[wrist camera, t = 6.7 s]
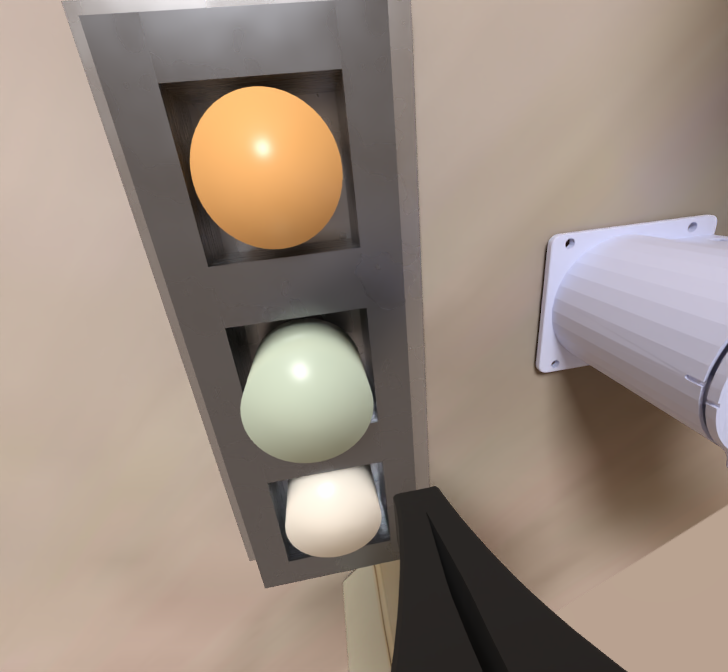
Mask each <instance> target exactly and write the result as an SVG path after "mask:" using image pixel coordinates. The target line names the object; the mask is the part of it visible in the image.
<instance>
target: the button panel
mask: <svg viewBox="0 0 728 672" xmlns="http://www.w3.org/2000/svg"><path fill="white" fill-rule="evenodd" d="M61 2H62V5H63V8H64V11H65V14H66V17H67V20H68V23H69V26H70V29H71V32H72V35H73V38H74V41H75V44H76V47H77V50H78V52H79V55H80V58H81V61H82V64H83V67H84V70H85V73H86V76H87V79H88V82H89V85H90V88H91V91H92V94H93V97H94V100H95V103H96V106H97V109H98V112H99V115H100V118H101V121H102V124H103V127H104V130H105V133H106V136H107V139H108V142H109V145H110V148H111V150H112V153H113V156H114V159H115V162H116V165H117V168H118V171H119V174H120V177H121V180H122V183H123V186H124V189H125V192H126V195H127V198H128V201H129V204H130V207H131V210H132V213H133V216H134V219H135V222H136V225H137V228H138V231H139V234H140V237H141V240H142V243H143V246H144V248H145V251H146V254H147V257H148V260H149V263H150V266H151V269H152V272H153V275H154V278H155V281H156V284H157V287H158V290H159V293H160V296H161V299H162V302H163V305H164V308H165V311H166V314H167V317H168V320H169V323H170V326H171V329H172V332H173V335H174V338H175V341H176V344H177V346H178V349H179V352H180V355H181V358H182V361H183V364H184V367H185V370H186V373H187V376H188V379H189V382H190V385H191V388H192V391H193V394H194V397H195V400H196V403H197V406H198V409H199V412H200V415H201V418H202V421H203V424H204V427H205V430H206V433H207V436H208V439H209V442H210V444H211V447H212V450H213V453H214V456H215V459H216V462H217V465H218V468H219V471H220V474H221V477H222V480H223V483H224V486H225V489H226V492H227V495H228V498H229V501H230V504H231V507H232V510H233V513H234V516H235V519H236V522H237V525H238V528H239V531H240V534H241V537H242V540H243V542H244V545H245V548H246V551H247V554H248V557H249V560H250V561H252V560H256V562H257V565H258V568H259V571H260V574H261V577H262V580H263V583H264V586H265V588H269V587H274V586H279V585H283V584H288V583H293V582H297V581H302V580H307V579H311V578H316V577H321V576H325V575H330V574H335V573H339V572H344V571H349V570H353V569H358V568H363V567H367V566H372V565H377V564H381V563H386V562H391V561H395V560H400V552H399V547H398V542H397V534H396V524H395V513H394V502H393V497H394V496H395V495H396V494H398V493H403V492H408V491H414V490H419V489H424V488H429V487H430V485H429V459H428V433H427V407H426V380H425V354H424V328H423V302H422V276H421V250H420V224H419V198H418V171H417V145H416V119H415V93H414V67H413V41H412V15H411V0H69V1H61ZM252 86H264V87H271V88H276V89H279V90H282V91H285V92H288V93H290V94H292V95H294V96H296V97H298V98H299V99H301V100H302V101H304V102H305V103H306V104H308V105H309V106H310V107H311V108H313V109H314V110H315V111H316V113H317V114H318V115H319V116H320V117H321V118H322V119H323V121H324V122H325V123H326V125H327V126H328V128H329V130H330V131H331V133H332V135H333V137H334V139H335V142H336V144H337V147H338V150H339V153H340V157H341V163H342V173H343V180H342V190H341V195H340V199H339V202H338V205H337V207H336V210H335V212H334V214H333V216H332V217H331V219H330V220H329V222H328V223H327V224H326V225H325V227H324V228H323V229H322V230H321V231H320V232H319V233H318V234H316V235H315V236H314V237H312V238H311V239H309V240H308V241H306V242H304V243H302V244H299V245H296V246H294V247H290V248H284V249H264V248H259V247H254V246H251V245H248V244H245V243H243V242H241V241H239V240H237V239H235V238H234V237H232V236H231V235H229V234H228V233H227V232H225V231H224V230H223V229H222V228H220V227H219V226H218V225H217V224H216V223H215V222H214V221H213V219H212V218H211V217H210V216H209V214H208V213H207V212H206V210H205V208H204V207H203V205H202V204H201V202H200V200H199V197H198V195H197V193H196V190H195V187H194V184H193V181H192V176H191V170H190V149H191V143H192V138H193V135H194V132H195V129H196V127H197V125H198V123H199V121H200V119H201V118H202V116H203V115H204V113H205V112H206V111H207V109H208V108H209V107H210V106H211V105H212V104H213V103H214V102H216V101H217V100H218V99H220V98H221V97H222V96H224V95H226V94H228V93H230V92H232V91H235V90H238V89H241V88H246V87H252ZM303 318H314V319H320V320H324V321H328V322H330V323H332V324H335V325H336V326H338V327H340V328H341V329H342V330H344V331H345V332H346V333H347V334H348V335H349V336H350V337H351V338H352V340H353V341H354V342H355V344H356V346H357V348H358V351H359V354H360V357H361V360H362V363H363V367H364V370H365V373H366V376H367V379H368V382H369V385H370V388H371V392H372V396H373V415H372V418H371V422H370V424H369V426H368V428H367V430H366V432H365V433H364V435H363V436H362V437H361V439H360V440H359V441H358V442H357V443H356V444H355V445H354V446H352V447H351V448H350V449H349V450H347V451H345V452H344V453H342V454H340V455H338V456H336V457H334V458H331V459H328V460H325V461H321V462H315V463H294V462H288V461H284V460H281V459H278V458H275V457H273V456H271V455H269V454H267V453H266V452H264V451H263V450H261V449H260V448H259V447H258V446H257V445H256V444H255V443H254V442H253V441H252V440H251V439H250V437H249V436H248V434H247V432H246V431H245V429H244V426H243V423H242V419H241V410H240V407H241V399H242V396H243V392H244V389H245V386H246V383H247V379H248V376H249V373H250V370H251V366H252V363H253V360H254V357H255V353H256V351H257V348H258V346H259V344H260V343H261V341H262V340H263V339H264V338H265V336H266V335H267V334H268V333H269V332H271V331H272V330H273V329H275V328H276V327H278V326H279V325H281V324H283V323H286V322H289V321H292V320H296V319H303ZM368 464H370V466H371V471H372V475H373V479H374V484H375V488H376V492H377V497H378V501H379V505H380V510H381V518H382V519H381V524H380V527H379V530H378V532H377V533H376V535H375V536H374V537H373V538H372V540H371V541H369V542H368V543H367V544H366V545H365V546H363V547H362V548H360V549H358V550H356V551H354V552H352V553H349V554H346V555H343V556H338V557H316V556H311V555H308V554H305V553H303V552H301V551H300V550H298V549H297V548H295V547H294V546H293V545H292V544H291V542H290V541H289V539H288V537H287V535H286V530H285V522H286V506H287V490H288V479H293V478H298V477H303V476H309V475H314V474H319V473H325V472H330V471H335V470H341V469H346V468H352V467H357V466H362V465H368Z"/></svg>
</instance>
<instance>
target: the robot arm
mask: <svg viewBox="0 0 728 672" xmlns="http://www.w3.org/2000/svg"><path fill="white" fill-rule="evenodd" d="M689 225H690V227H689ZM716 226H717V218H716V217H715V216H714V215H699V216H691V217H683V218H676V219H668V220H661V221H653V222H645V223H638V224H630V225H622V226H615V227H607V228H599V229H592V230H584V231H577V232H569V233H561V234H556V235H554V236H553V237H551V239H550V240H549V242H548V247H547V257H546V267H545V277H544V287H543V298H542V308H541V318H540V328H539V338H538V348H537V358H536V367H537V369H538V370H539V371H541V372H543V373H547V372H553V371H559V370H564V369H570V368H576V367H582V366H588V365H591V366H592V367H594V368H595V369H597V370H598V371H600V372H602V373H603V374H605V375H606V376H608V377H610V378H611V379H613V380H614V381H616V382H618V383H619V384H621V385H622V386H624V387H626V388H627V389H629V390H630V391H632V392H634V393H635V394H637V395H638V396H640V397H642V398H643V399H645V400H646V401H648V402H650V403H651V404H653V405H654V406H656V407H658V408H659V409H661V410H662V411H664V412H665V413H667V414H669V415H670V416H672V417H673V418H675V419H677V420H678V421H680V422H681V423H683V424H685V425H686V426H688V427H689V428H691V429H693V430H694V431H696V432H697V433H699V434H701V435H702V436H704V437H705V438H707V439H709V440H710V441H712V442H713V443H715V444H717V445H718V446H720V447H721V448H722V449H723V450H724V451H725V453H726V456H727V462H726V466H727V468H728V236H720V235H714V233H715V229H716ZM688 227H689V229H688ZM568 239H570V243H569V245H568V246H567V247H566V246H565V243H566V241H567V240H568ZM553 361H555V363H554V364H552V362H553ZM551 364H552V365H551ZM393 502H394V513H395V524H396V534H397V542H398V547H399V552H400V575H399V597H398V611H397V623H396V633H395V643H394V651H393V659H392V666H391V672H627V671H626V670H624V669H623V668H622V667H620V666H619V665H618V664H617V663H615V662H614V661H613V660H611V659H610V658H609V657H607V656H606V655H605V654H604V653H603V652H601V651H600V650H599V649H598V648H596V647H595V646H594V645H592V644H591V643H590V642H589V641H587V640H586V639H585V638H584V637H582V636H581V635H580V634H579V633H577V632H576V631H575V630H574V629H572V628H571V627H570V626H569V625H568V624H567V623H565V622H564V621H563V620H562V619H561V618H560V617H558V616H557V615H556V614H555V613H554V612H553V611H552V610H550V609H549V608H548V607H547V606H546V605H545V604H544V603H543V602H542V601H540V600H539V599H538V598H537V597H536V596H535V595H534V594H533V593H532V592H531V591H530V590H528V589H527V588H526V587H525V586H524V585H523V584H522V583H521V582H520V581H519V580H518V579H517V578H516V577H515V576H514V575H513V574H512V573H511V572H510V571H509V570H508V569H507V568H506V567H505V566H504V565H503V564H502V563H501V562H500V561H499V560H498V559H497V558H496V557H495V555H494V554H493V553H492V552H491V551H490V550H489V549H488V548H487V547H486V546H485V545H484V543H483V542H482V541H481V540H480V539H479V538H478V537H477V536H476V535H475V533H474V532H473V531H472V530H471V529H470V528H469V527H468V525H467V524H466V523H465V522H464V521H463V519H462V518H461V517H460V516H459V514H458V513H457V512H456V511H455V510H454V508H453V507H452V506H451V504H450V503H449V502H448V500H447V499H446V498H445V496H444V495H443V494H442V492H441V491H440V489H439V488H437V487H436V486H434V487H429V488H424V489H419V490H414V491H408V492H403V493H398V494H396V495H395V496H394V497H393Z"/></svg>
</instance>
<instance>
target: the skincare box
mask: <svg viewBox="0 0 728 672" xmlns="http://www.w3.org/2000/svg"><path fill="white" fill-rule="evenodd" d="M399 575H400V560H395V561H391V562H386V563H381V564H377V565H372V566H367V567H363V568H358V569H356V570H355V571H354V572H353V573H352V574H351V575H350V576H349V577H348V578H347V579H346V580H345V581H344V582H343V595H344V609H345V624H346V639H347V654H348V668H349V672H391V666H392V659H393V651H394V643H395V633H396V623H397V611H398V597H399Z"/></svg>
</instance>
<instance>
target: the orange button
mask: <svg viewBox="0 0 728 672" xmlns="http://www.w3.org/2000/svg"><path fill="white" fill-rule="evenodd" d="M190 170H191V176H192V181H193V184H194V187H195V190H196V193H197V195H198V197H199V200H200V202H201V204H202V205H203V207H204V208H205V210H206V212H207V213H208V214H209V216H210V217H211V218H212V219H213V221H214V222H215V223H216V224H217V225H218V226H219V227H220V228H222V229H223V230H224V231H225V232H227V233H228V234H229V235H231V236H232V237H234V238H235V239H237V240H239V241H241V242H243V243H245V244H248V245H251V246H254V247H259V248H264V249H284V248H290V247H294V246H296V245H299V244H302V243H304V242H306V241H308V240H309V239H311V238H312V237H314V236H315V235H316V234H318V233H319V232H320V231H321V230H322V229H323V228H324V227H325V225H326V224H327V223H328V222H329V220H330V219H331V217H332V216H333V214H334V212H335V210H336V207H337V205H338V202H339V199H340V195H341V190H342V180H343V173H342V163H341V157H340V153H339V150H338V147H337V144H336V142H335V139H334V137H333V135H332V133H331V131H330V130H329V128H328V126H327V125H326V123H325V122H324V121H323V119H322V118H321V117H320V116H319V115H318V114H317V113H316V111H315V110H314V109H313V108H311V107H310V106H309V105H308V104H306V103H305V102H304V101H302V100H301V99H299V98H298V97H296V96H294V95H292V94H290V93H288V92H285V91H282V90H279V89H276V88H271V87H264V86H252V87H246V88H241V89H238V90H235V91H232V92H230V93H228V94H226V95H224V96H222V97H221V98H220V99H218V100H217V101H216V102H214V103H213V104H212V105H211V106H210V107H209V108H208V109H207V111H206V112H205V113H204V115H203V116H202V118H201V119H200V121H199V123H198V125H197V127H196V129H195V132H194V135H193V138H192V143H191V149H190Z"/></svg>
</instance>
